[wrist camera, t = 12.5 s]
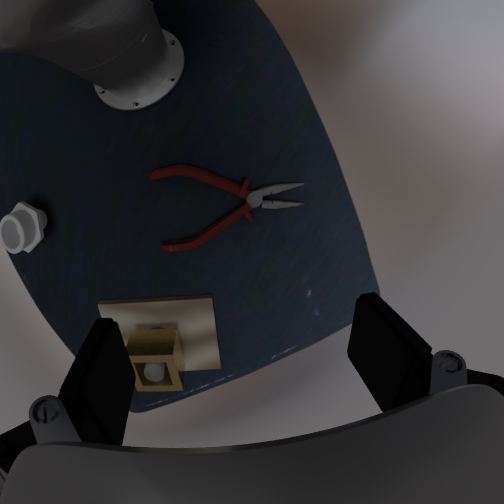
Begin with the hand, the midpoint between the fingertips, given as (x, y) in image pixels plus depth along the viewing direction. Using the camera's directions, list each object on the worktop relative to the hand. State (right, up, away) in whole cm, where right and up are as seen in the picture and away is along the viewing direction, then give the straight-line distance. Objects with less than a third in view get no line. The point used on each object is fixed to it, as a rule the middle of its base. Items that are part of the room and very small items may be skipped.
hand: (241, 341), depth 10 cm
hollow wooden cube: (-14, -11, +29) cm, 34 cm away
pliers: (-4, +9, +28) cm, 29 cm away
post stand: (-14, -10, +32) cm, 36 cm away
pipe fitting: (-32, +8, +23) cm, 40 cm away
